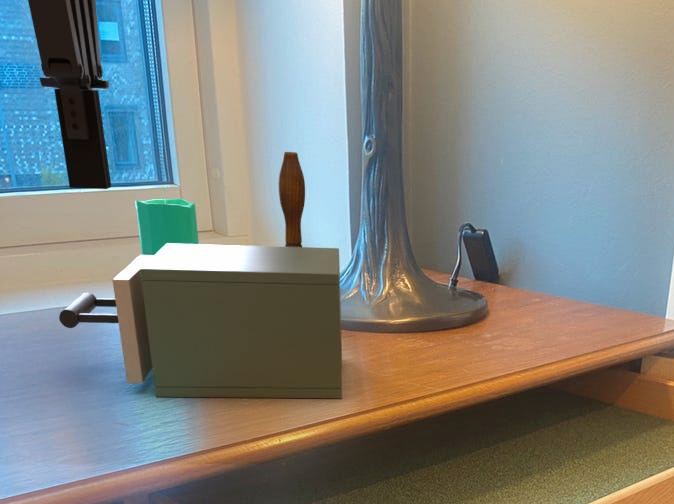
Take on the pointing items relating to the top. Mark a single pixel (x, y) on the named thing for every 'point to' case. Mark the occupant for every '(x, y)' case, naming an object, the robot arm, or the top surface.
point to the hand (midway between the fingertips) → (90, 186)
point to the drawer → (120, 318)
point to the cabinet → (244, 321)
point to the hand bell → (292, 198)
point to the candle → (165, 223)
